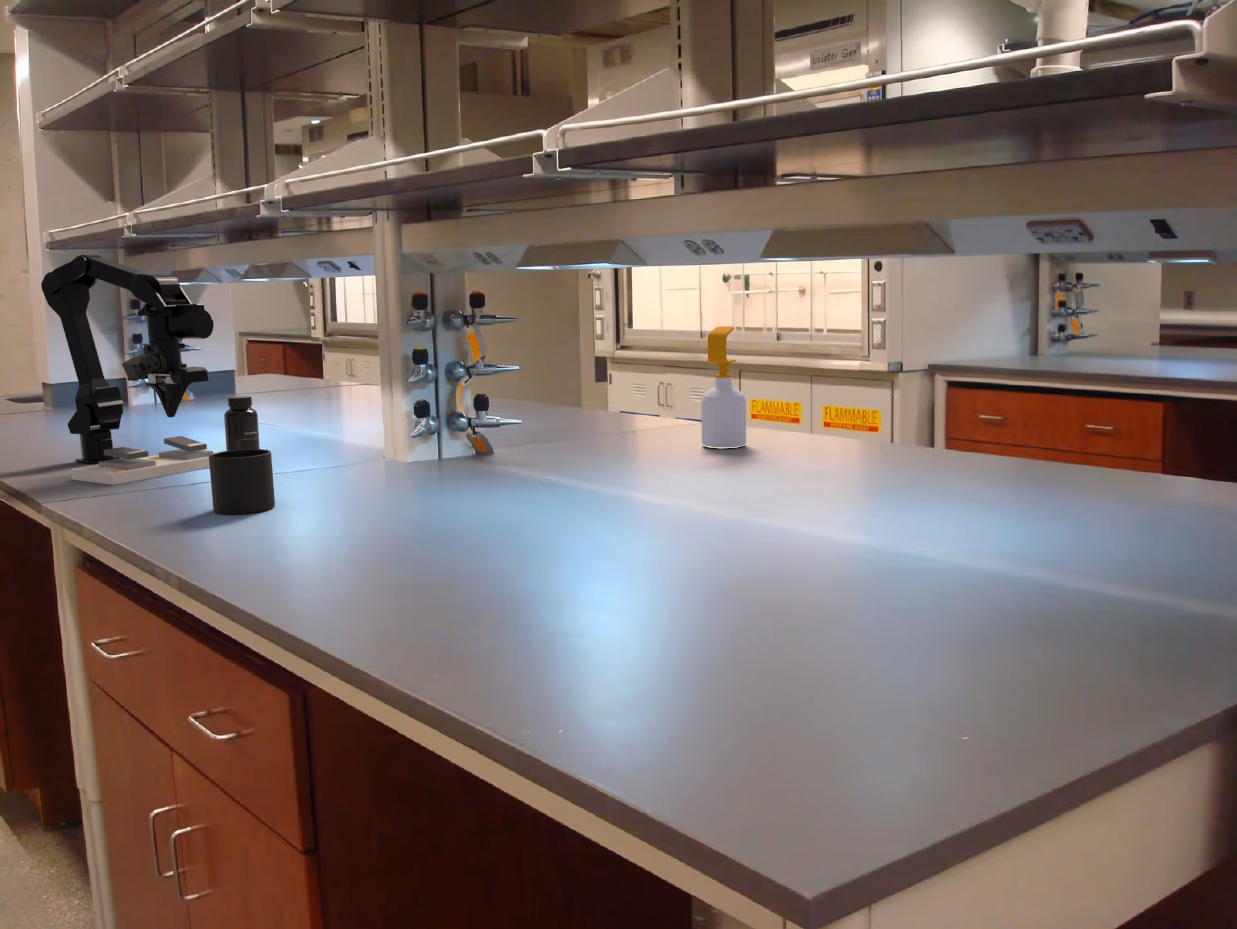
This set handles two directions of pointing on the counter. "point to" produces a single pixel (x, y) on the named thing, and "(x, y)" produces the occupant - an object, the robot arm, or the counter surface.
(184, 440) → the rocker
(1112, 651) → the counter surface
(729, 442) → the soap bottle
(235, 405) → the supplement bottle
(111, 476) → the switch panel
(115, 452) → the rocker
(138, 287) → the robot arm
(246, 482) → the mug
